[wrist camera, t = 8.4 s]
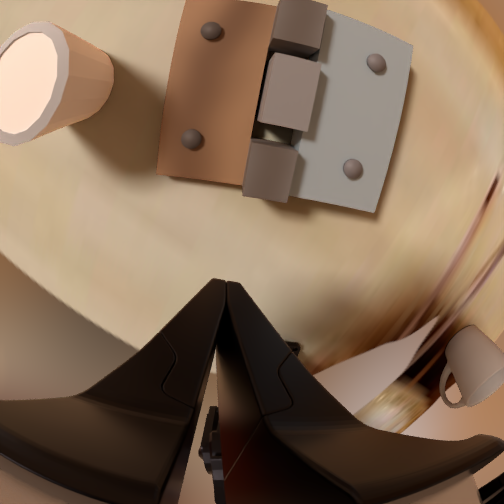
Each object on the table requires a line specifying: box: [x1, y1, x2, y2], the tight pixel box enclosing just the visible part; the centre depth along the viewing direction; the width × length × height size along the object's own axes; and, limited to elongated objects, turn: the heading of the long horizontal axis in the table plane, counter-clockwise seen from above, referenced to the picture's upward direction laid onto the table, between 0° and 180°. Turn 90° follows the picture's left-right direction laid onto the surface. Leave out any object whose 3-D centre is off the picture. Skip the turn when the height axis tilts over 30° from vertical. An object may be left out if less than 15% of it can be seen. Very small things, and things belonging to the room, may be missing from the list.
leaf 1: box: [156, 0, 328, 203], centre depth 14 cm, size 8×12×4 cm, turn 170°
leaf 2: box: [256, 10, 413, 213], centre depth 15 cm, size 8×12×4 cm
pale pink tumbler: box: [0, 21, 114, 146], centre depth 12 cm, size 7×7×7 cm
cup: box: [440, 325, 504, 408], centre depth 26 cm, size 8×10×8 cm
